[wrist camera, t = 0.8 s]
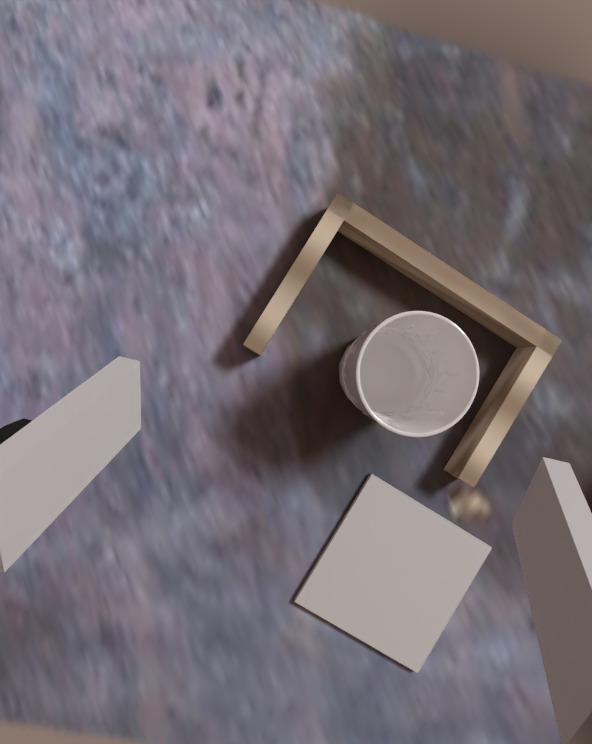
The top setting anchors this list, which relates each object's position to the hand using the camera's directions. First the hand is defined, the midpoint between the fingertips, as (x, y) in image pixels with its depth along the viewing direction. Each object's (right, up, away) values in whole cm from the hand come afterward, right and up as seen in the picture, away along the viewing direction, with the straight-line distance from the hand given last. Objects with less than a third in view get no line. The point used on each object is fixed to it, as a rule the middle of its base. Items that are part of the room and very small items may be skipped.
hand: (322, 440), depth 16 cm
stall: (+7, +5, +25) cm, 26 cm away
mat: (+7, -14, +25) cm, 29 cm away
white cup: (+6, +2, +25) cm, 25 cm away
